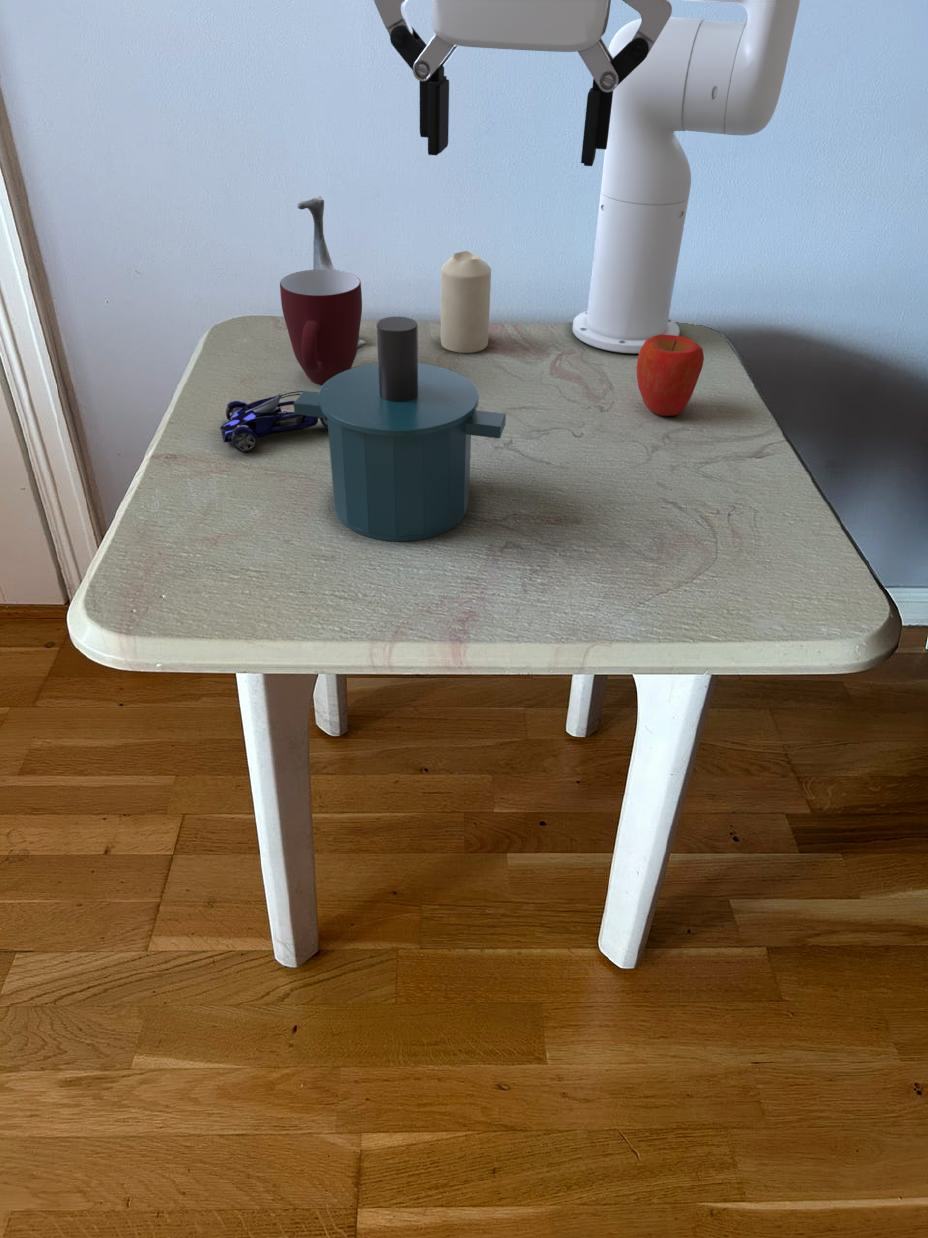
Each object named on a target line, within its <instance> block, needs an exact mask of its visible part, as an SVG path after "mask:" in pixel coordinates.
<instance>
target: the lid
mask: <svg viewBox="0 0 928 1238" xmlns="http://www.w3.org/2000/svg"><path fill="white" fill-rule="evenodd" d="M418 327H419V326H418V322H417V320H415V319H413V318H409V317H406V316H388V317H384V318H381V319H379V320H378V321H377V323H376V338H377V339H376V341H377V363H369V364H365V365H364V364H363V365H360V366H356V367H351V368H350V369H349V370H346V371H344V372H341V373H339V374H337V375H335V376H333V377H332V378H330V379H329V380H328V381H326V382H325V383H324V384H322V386H321V387H320V389H319V391H318V392H319V394H318V401H319V406H320V409H321V411H322V412H323V414H324V415H325V416H326V417H327V418H329V419H330V420H331V421H333V422H335V423H336V424H338V425H340V426H343V427H345V428H348V429H351V430H354V431H358V432H362V433H366V434H373V435H381V436H415V435H424V434H430V433H434V432H439V431H443V430H446V429H449V428H451V427H454V426H456V425H458V424H460V423H462V422H464V421H465V420H467V419H468V418H469V417H470V416H471V415H472V414H473V413H474V412H475V410H477V409H478V406H479V398H480V397H479V391H478V389H477V387H476V385H475V384H474V383H473V382H472V381H471V380H470V379H468V378H467V377H466V376H464V375H462V374H460V373H458V372H456V371H453V370H451V369H448V368H445V367H442V366H439V365H438V366H437V365H434V364H433V365H432V364H427V363H420V362H419V345H418V344H419V328H418Z"/></svg>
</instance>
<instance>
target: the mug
mask: <svg viewBox="0 0 928 1238" xmlns="http://www.w3.org/2000/svg"><path fill="white" fill-rule="evenodd" d="M279 291H280V293H279V294H280V302H281V310H282V315H283V318H284V322H285V325H286V330H287V333H288V336H289V340H290V343H291V347H292V351H293V355H294V357H295V359H296V361H297V362H298V364H299V366H300V367H301V369H302V371H303V372H304V374H305V375H306V377H307V378H308V379H309V381H311V382H313V383H315V384H319V385H323V384H324V383H325V382H326V381H328V380H329V379H330V378H332V377H333V376H335V375H337V374H339V373H341V372H344V371H346V370H349V369H352V367H353V364H354V362H355V358H356V357H357V352H358V348H359V347H358V339H360V332H361V331H360V330H361V323H362V314H363V294H362V282H361V279H360V278H359V277H358V276H357V275H355V274H353V273H350V272H347V271H344V270H338V269H335V270H326V269H318V270H313V269H307V270H306V269H305V270H301V271H297V272H293V273H290V274H288V275H286V276H284V277H283V278H282V279H281V280H280V282H279ZM357 347H358V348H357Z"/></svg>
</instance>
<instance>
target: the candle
mask: <svg viewBox="0 0 928 1238" xmlns="http://www.w3.org/2000/svg"><path fill="white" fill-rule="evenodd" d="M491 285H492V268H491V267H490V266H489V264H488V263H487V262H486V261H485V260H483V259H482V258H480V256H478V255H477V254H474V253H472V252H470V251H468V250H464V251H459V252H454V254H453V255H452V256H450V257H449V259H448V260H446V262H445V263H443V265H442V266H441V267H440V345H441V347H443V348H444V349H445V350H447V351H451V352H453V353H461V354H462V353H463V354H471V353H477V352H480V351H483V350H484V349H486V348H487V347H488V345H489V336H490V335H489V332H490V331H489V329H490V309H491V306H490V305H491V287H492V286H491Z"/></svg>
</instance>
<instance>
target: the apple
mask: <svg viewBox="0 0 928 1238" xmlns="http://www.w3.org/2000/svg"><path fill="white" fill-rule="evenodd" d="M636 359H637V361H636V381H637V386H638V390H639V393H640V396H641V398H642V401H643V404H644V405H645V407H646V408H647V409H648V410H649V411H651V412H652V413H653V414H656V415H658V416H661V417H666V416H667V417H669V416H678V415H679V414H681V413H682V412H683V411H684V410H685V408H686V407H687V405H688V404H689V402H690V400H691V399H692V396H693V394H694V391H695V388H696V386H697V384H698V380H699V377H700V375H701V372H702V371H703V367H704V361H705V355H704V350H703V348H702V346H700V345H699V344H698V343H697V341H694V340H693V339H692V338H689V337H687V336H680V335H679V336H675V335H657V336H653V337H651V338H649V339H647V340H646V341H645V343H644V344H643V346H642V347H641V349H640V352H639V353H638V356H637V358H636Z"/></svg>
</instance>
